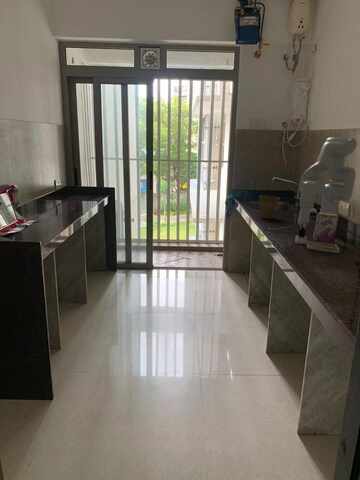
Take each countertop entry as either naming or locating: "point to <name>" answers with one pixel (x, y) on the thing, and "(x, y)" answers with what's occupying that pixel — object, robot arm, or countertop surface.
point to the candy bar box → (325, 227)
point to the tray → (322, 246)
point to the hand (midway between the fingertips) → (301, 236)
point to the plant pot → (268, 205)
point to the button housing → (300, 240)
